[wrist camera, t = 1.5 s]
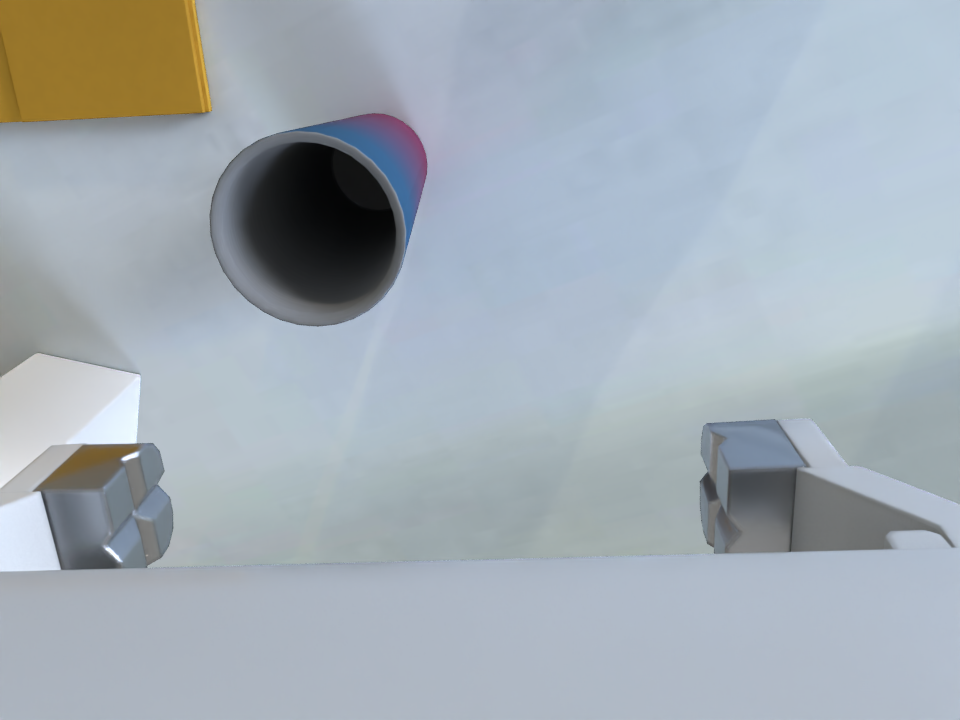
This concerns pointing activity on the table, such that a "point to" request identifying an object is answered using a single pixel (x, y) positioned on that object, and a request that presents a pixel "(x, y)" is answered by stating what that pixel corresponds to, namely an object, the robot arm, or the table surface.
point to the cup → (319, 217)
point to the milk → (63, 408)
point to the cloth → (100, 59)
